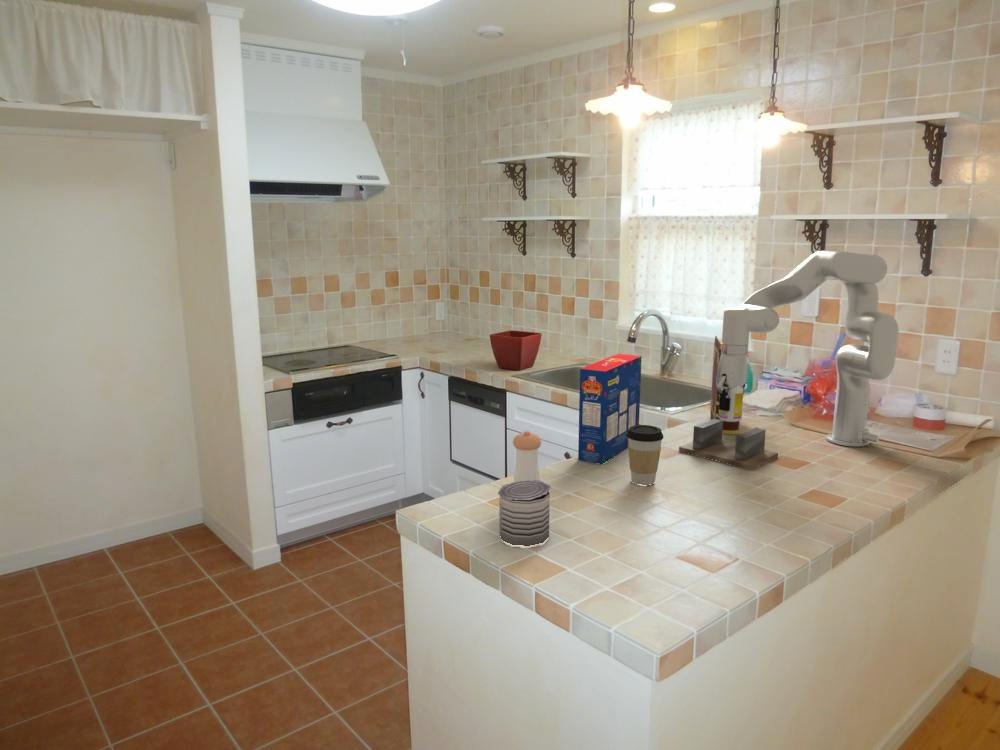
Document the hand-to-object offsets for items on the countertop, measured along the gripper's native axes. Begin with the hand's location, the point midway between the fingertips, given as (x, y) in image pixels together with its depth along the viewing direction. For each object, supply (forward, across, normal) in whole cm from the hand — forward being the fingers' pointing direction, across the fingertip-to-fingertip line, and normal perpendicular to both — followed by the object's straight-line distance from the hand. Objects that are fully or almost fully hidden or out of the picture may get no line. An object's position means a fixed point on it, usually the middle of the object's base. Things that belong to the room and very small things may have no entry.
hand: (730, 407), depth 211 cm
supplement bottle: (+4, 0, 0) cm, 4 cm away
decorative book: (+15, -28, -17) cm, 36 cm away
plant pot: (+15, -48, -141) cm, 150 cm away
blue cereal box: (+15, +22, -28) cm, 39 cm away
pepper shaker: (+15, +72, -15) cm, 75 cm away
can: (+15, +86, -2) cm, 87 cm away
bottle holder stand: (+15, 0, 0) cm, 15 cm away
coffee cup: (+15, +38, -4) cm, 41 cm away
